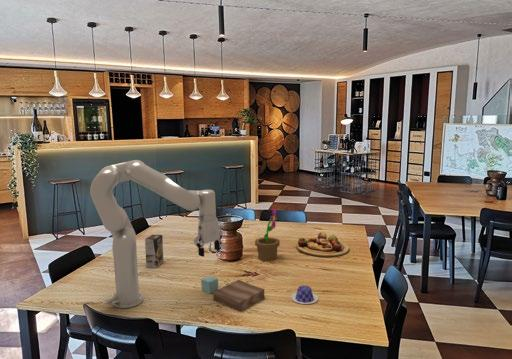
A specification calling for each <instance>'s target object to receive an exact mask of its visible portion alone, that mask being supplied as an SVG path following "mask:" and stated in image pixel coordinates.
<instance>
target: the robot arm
mask: <svg viewBox="0 0 512 359" xmlns="http://www.w3.org/2000/svg"><path fill="white" fill-rule="evenodd" d="M127 181H128V182H129V181H132V182H134V183H136V184H138V185H140V186H143V187H144V188H146V189H148V190H150V191H151V192H153V193H155V194H158V195H159V196H161V197H163V198H164V199H166V200H168V201H169V202H171V203H173V204H175V205H176V206H179V207H180V208H183V209H184V210H187V211H191V212H193V211H196V210H198V215H199V216H198V217H197V219H198V220H199V221H198V225H197V226H198V227H197V235H196V237H195V238H194V239H193V243H194V245H195V246H196V247H197V250H198V256H200V257H205V248H204V246H205V244H206V245H207V244H210V243H213V246H214V248H213V249H214V250H215V251H218V252H219V251H221V247H220V245H221V241H222V238H223V234H224V231H223V230H220V223H219V219H218V218H217V209H216V208H217V207H216V206H217V205H216V192H215V191H214V190H213V189H202V190H196V189H195V190H190V189H189V190H188V189H186V188H184V187H182V186H180V185H179V184H177V183H176V182H174V181H173V180H172V179H171V178H170V177H169V176H167V175H165V174H164V173H161V172H159V171H157V169H154V168H152V167H150V166H148V165H147V164H145V162H143V161H142V160H139V159H134V160H133V159H132V160H128V161H124V162H119V163H116V164H115V163H113V164H111V165H107V166H105V167H103V168H101V169H100V171H99V172H97V174H96V176H95V177H94V178H93V180H92V182H91V184H90V189H89V192H90V197H91V201H92V202H93V204H94V207H95V209H96V211H97V214H98V216H99V218H100V220H101V223H102V225H103V227H104V228H105V229H106V230H107V231H108V232H110V234H111V236H112V245H111V246H112V247H111V248H112V257H113V269H114V280H115V293H114V294H113V296H112V297H111V298H107V299H106V300H105V304H106V305H110V304H111V305H113V306H114V307H115V308H118V309H129V308H133V307H136V306H139V305H140V304H142V303H143V301H144V295H142V294H141V293H140V285H139V284H140V283H139V271H138V270H139V268H138V258H137V257H138V252H137V249H138V248H137V236H136V235H137V234H136V231H135V229H134V228H133V225H132V223H131V221H130V218H129V216H128V214H127V212H126V210H125V209H124V208H122V207H121V206H120V205H119V204H118V202H117V198H116V196H115V195H114V192H113V190H114V188H115V187H116V186H117V185H118V184H120V183H124V182H127Z"/></svg>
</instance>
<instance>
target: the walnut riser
mask: <svg viewBox="0 0 512 359" xmlns="http://www.w3.org/2000/svg"><path fill="white" fill-rule="evenodd" d="M212 293H213V301H215V302H217V303H219V304H222V305H223V306H227V307H229V308H231V309H233V310H236V311H238V312H242V311H244V310H246V309H247V308H249V307H251V306H253V305H254V304H257V303H258V302H259V301H261V300H264V299H265V289H264V288H262V287H259V286H257V285H254V284H251V283H249V282H245V281H242V280H240V279H237V280H235V281H233V282H231V283H229V284H227V285H225V286H222V287H220V288H218V290H216V291H214V292H212Z"/></svg>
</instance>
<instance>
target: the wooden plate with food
mask: <svg viewBox="0 0 512 359" xmlns="http://www.w3.org/2000/svg"><path fill="white" fill-rule="evenodd" d="M297 240H298V241H297V243H296V244H295V246H296V249H297V250H298V251H299V252H300V253H302V254H304V255H306V256H309V257H313V258H314V257H315V258H325V259H326V258H329V259H330V258H331V259H332V258H338V257H342V256H345V255H347V254H348V253H349V251H350V247H349V246H348V244H346V243H345V242H343V241H340V240H339V239H338V237H337V236H336V235H335V234H331V235H329V236H328V238H327V234H326V232H323V231H321V232H319V233H318V234H317V237H307V238H304V237H303V236H302V237H299V238H298V239H297Z"/></svg>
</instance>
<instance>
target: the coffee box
mask: <svg viewBox="0 0 512 359" xmlns="http://www.w3.org/2000/svg"><path fill="white" fill-rule="evenodd" d="M163 240H164V239H163V234H151V235H150V236H148V237H146V238H145V239H144V244H145V246H144V248H145V249H144V250H145V266H146V268H154V269H157V268H158V267H159V266H161V265H162V264H164V262H165V261H164V244H163V243H164V242H163Z"/></svg>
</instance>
